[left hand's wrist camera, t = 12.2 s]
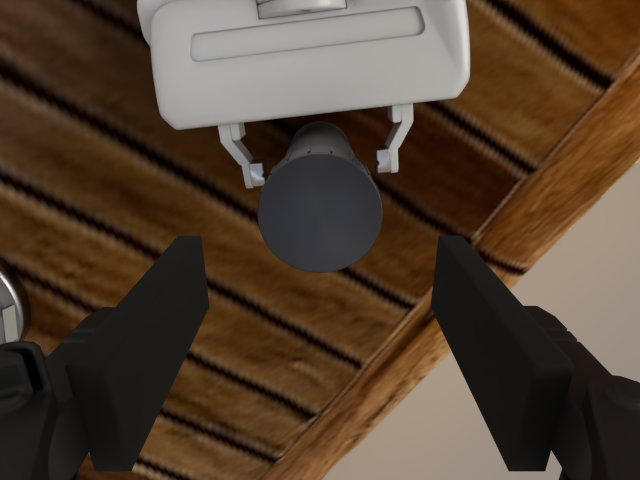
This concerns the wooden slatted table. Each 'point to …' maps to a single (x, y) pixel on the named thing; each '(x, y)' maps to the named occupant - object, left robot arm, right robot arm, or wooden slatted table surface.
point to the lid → (320, 209)
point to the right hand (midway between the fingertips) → (321, 178)
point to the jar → (319, 137)
